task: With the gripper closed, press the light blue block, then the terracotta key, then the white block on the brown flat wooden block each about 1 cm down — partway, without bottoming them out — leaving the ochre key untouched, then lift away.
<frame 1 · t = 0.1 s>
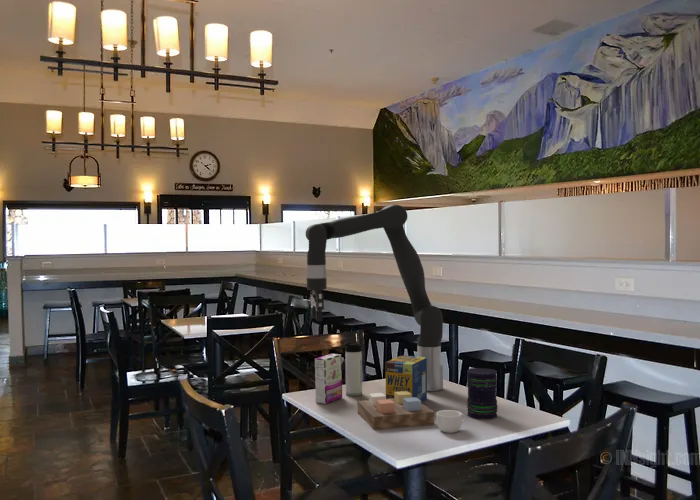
hand: (317, 319, 228), 29 cm above the table, tool pointing down, fingers open, 8 cm apart
teacup: (452, 431, 185), on the table
storage jar: (482, 416, 201), on the table
protein box: (407, 402, 220), on the table
terracotta key: (385, 407, 193), point 5 cm above the table, slide at 0.0 cm
light blue block: (412, 405, 195), point 5 cm above the table, slide at 0.0 cm
brown flat wooden block: (394, 418, 199), on the table
white block: (377, 400, 202), point 5 cm above the table, slide at 0.0 cm
candy bar box: (328, 401, 223), on the table
ochre key: (402, 398, 204), point 5 cm above the table, slide at 0.0 cm
travel mug: (353, 395, 231), on the table
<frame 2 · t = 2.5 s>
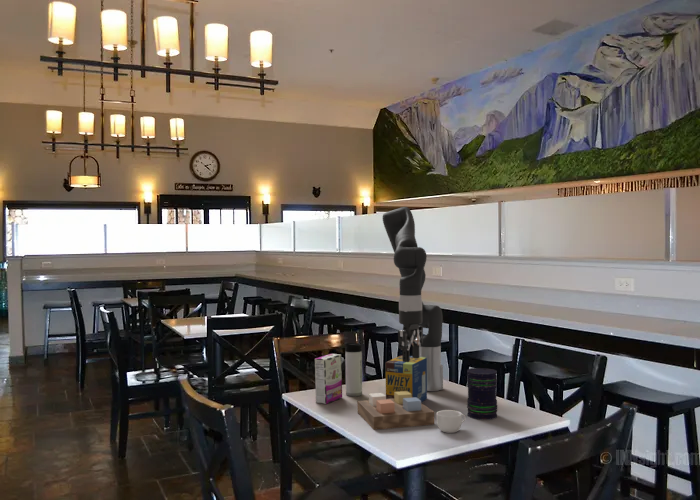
hand: (411, 359, 195), 20 cm above the table, tool pointing down, fingers open, 7 cm apart
nothing on the table moved.
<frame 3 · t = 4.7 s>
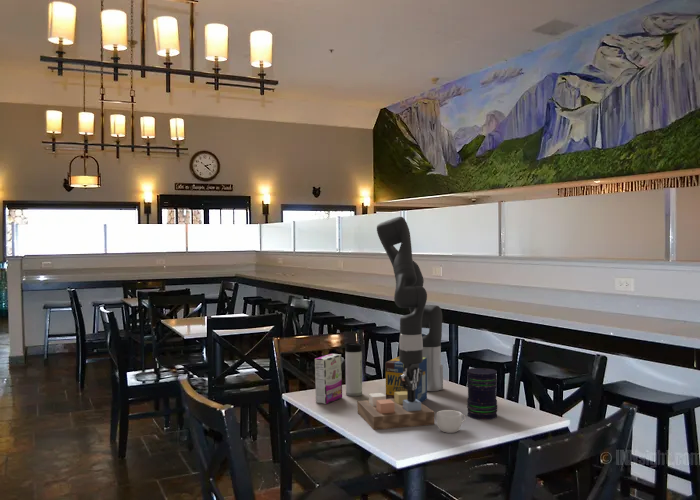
hand: (411, 401, 195), 6 cm above the table, tool pointing down, fingers closed
light blue block: (412, 407, 195), point 4 cm above the table, slide at 0.5 cm, touching gripper
everything else where it was.
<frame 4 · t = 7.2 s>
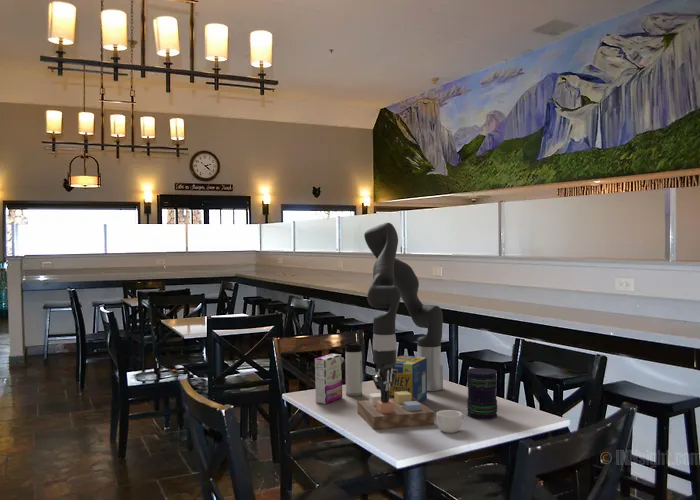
hand: (384, 401, 193), 7 cm above the table, tool pointing down, fingers closed
terracotta key: (385, 408, 193), point 5 cm above the table, slide at 0.1 cm, touching gripper
light blue block: (412, 409, 195), point 4 cm above the table, slide at 1.2 cm
everything else where it was.
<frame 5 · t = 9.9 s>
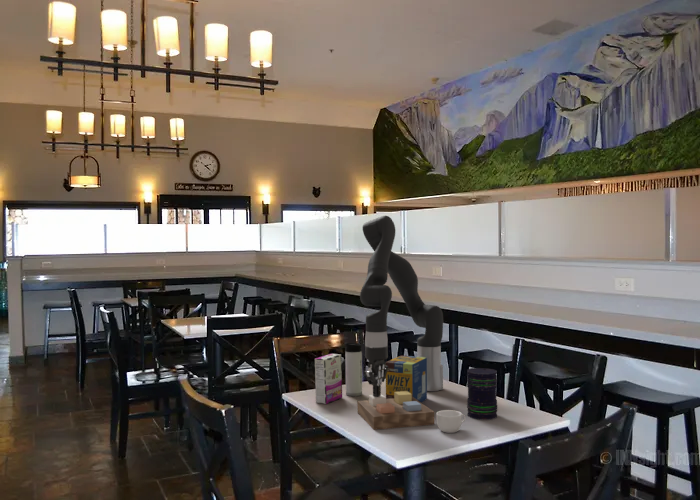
hand: (376, 396, 202), 7 cm above the table, tool pointing down, fingers closed
terracotta key: (385, 411, 193), point 4 cm above the table, slide at 1.2 cm
white block: (377, 402, 202), point 5 cm above the table, slide at 0.5 cm, touching gripper
everything else where it was.
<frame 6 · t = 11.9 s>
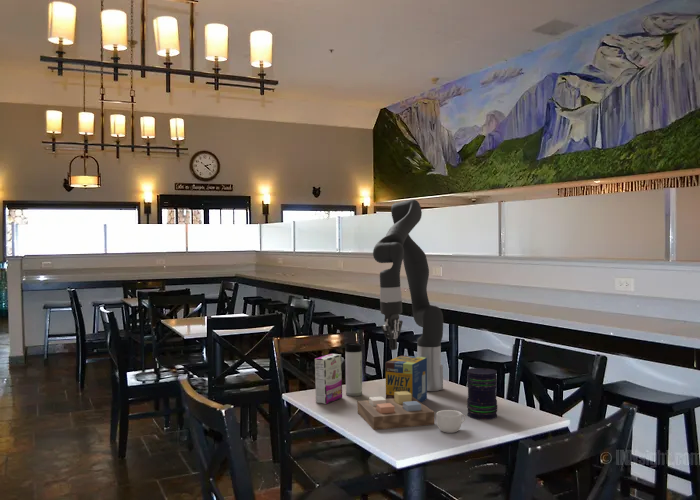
hand: (393, 349, 210), 21 cm above the table, tool pointing down, fingers closed
white block: (377, 404, 202), point 4 cm above the table, slide at 1.2 cm
everything else where it was.
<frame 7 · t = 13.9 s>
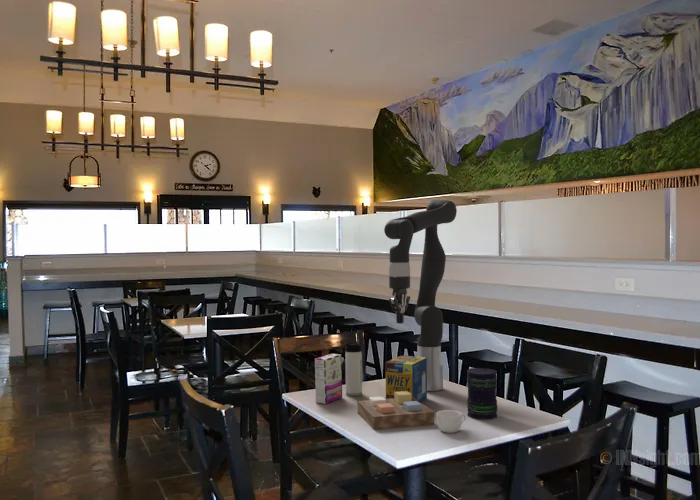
hand: (400, 323, 217), 29 cm above the table, tool pointing down, fingers closed
nothing on the table moved.
at the end: light blue block slide at 1.2 cm; terracotta key slide at 1.2 cm; white block slide at 1.2 cm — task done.
